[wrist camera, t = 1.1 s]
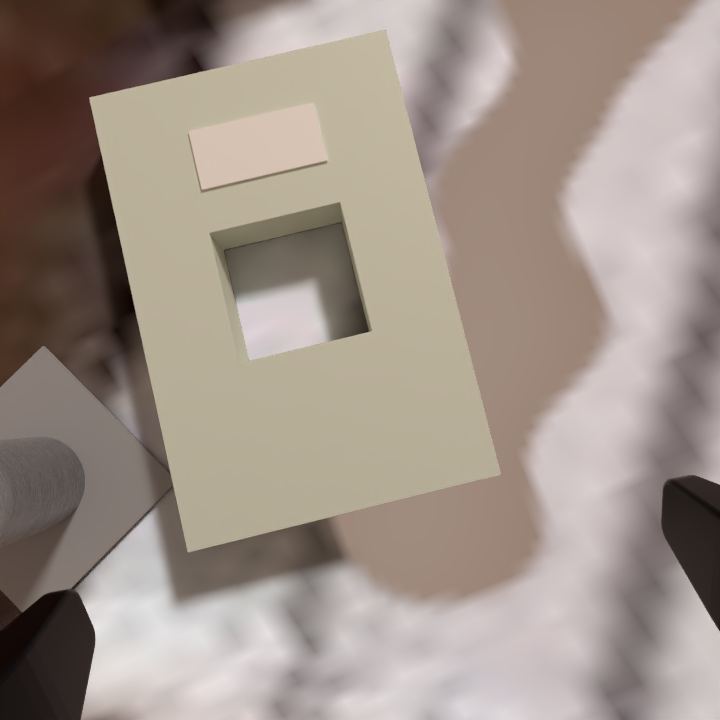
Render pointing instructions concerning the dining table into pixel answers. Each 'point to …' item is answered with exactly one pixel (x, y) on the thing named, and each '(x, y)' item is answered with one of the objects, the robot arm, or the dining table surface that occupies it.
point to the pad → (101, 469)
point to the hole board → (270, 220)
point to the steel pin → (37, 486)
